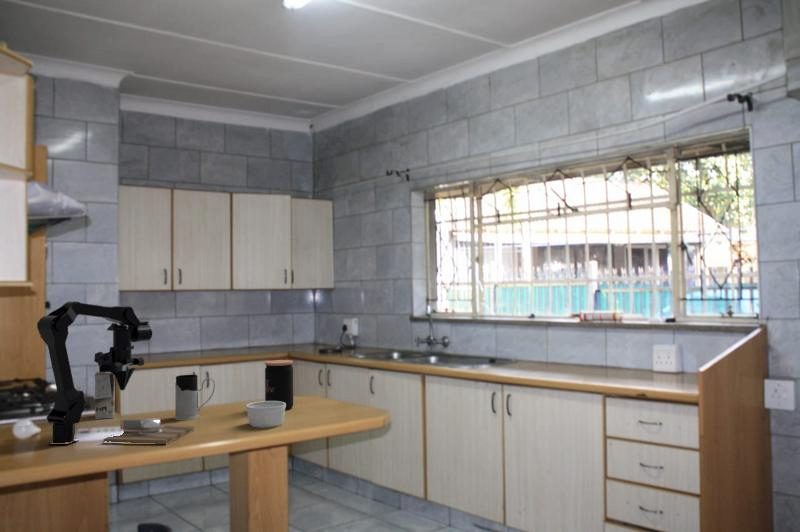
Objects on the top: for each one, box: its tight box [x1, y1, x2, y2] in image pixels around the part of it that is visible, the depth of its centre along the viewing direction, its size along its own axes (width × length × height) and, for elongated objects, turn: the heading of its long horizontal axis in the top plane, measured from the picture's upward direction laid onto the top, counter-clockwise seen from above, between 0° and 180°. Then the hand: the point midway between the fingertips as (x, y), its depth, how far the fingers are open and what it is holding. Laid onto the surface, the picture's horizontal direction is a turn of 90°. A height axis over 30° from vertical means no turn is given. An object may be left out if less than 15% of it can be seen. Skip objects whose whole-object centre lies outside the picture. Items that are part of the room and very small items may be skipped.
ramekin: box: [245, 400, 286, 429], centre depth 235 cm, size 13×13×7 cm
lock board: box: [103, 424, 195, 444], centre depth 218 cm, size 20×20×2 cm
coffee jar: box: [264, 359, 294, 411], centre depth 263 cm, size 11×11×18 cm
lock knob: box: [120, 417, 162, 433], centre depth 218 cm, size 12×6×3 cm, turn 84°
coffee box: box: [94, 371, 116, 420], centre depth 252 cm, size 9×6×16 cm
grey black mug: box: [173, 374, 216, 421], centre depth 249 cm, size 9×14×15 cm, turn 113°
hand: (122, 390), depth 230 cm, fingers closed
